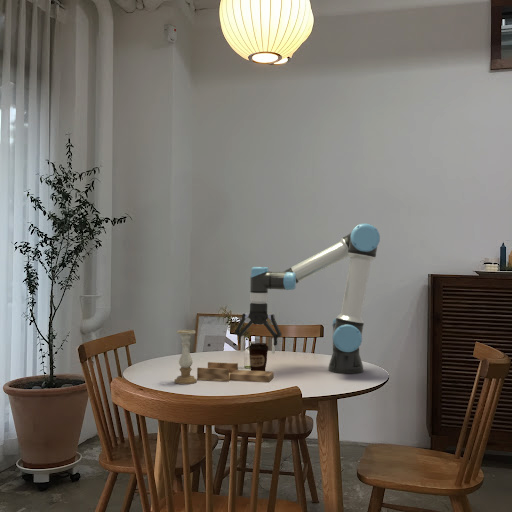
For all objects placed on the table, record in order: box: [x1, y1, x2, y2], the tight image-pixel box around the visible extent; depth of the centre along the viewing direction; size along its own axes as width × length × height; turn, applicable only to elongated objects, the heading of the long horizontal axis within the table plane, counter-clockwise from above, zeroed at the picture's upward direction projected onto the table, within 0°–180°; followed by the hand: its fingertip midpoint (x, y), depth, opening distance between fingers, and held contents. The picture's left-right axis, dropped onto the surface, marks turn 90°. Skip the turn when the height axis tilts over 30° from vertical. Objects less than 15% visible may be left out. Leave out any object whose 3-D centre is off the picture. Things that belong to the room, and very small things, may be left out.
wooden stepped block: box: [196, 361, 275, 383], centre depth 237 cm, size 29×15×5 cm, turn 77°
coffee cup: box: [248, 342, 269, 371], centre depth 248 cm, size 9×8×13 cm
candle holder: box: [174, 329, 198, 385], centre depth 229 cm, size 9×9×20 cm
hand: (257, 352), depth 248 cm, fingers open, 13 cm apart
